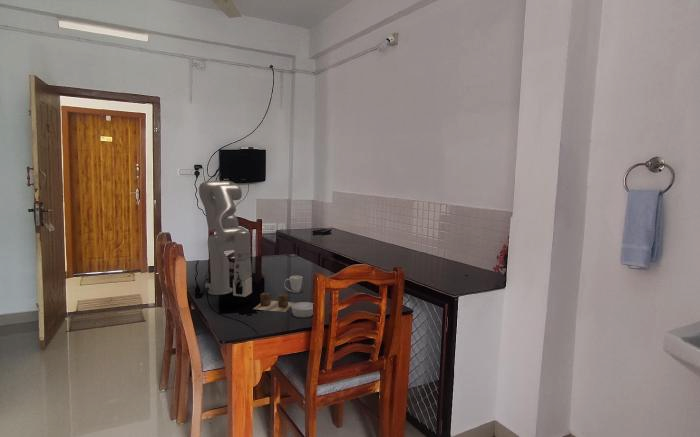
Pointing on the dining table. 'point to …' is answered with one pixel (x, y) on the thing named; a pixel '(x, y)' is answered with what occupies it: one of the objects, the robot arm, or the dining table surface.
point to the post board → (271, 304)
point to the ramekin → (302, 309)
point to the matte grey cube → (244, 287)
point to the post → (283, 300)
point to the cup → (295, 283)
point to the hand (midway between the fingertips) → (242, 291)
